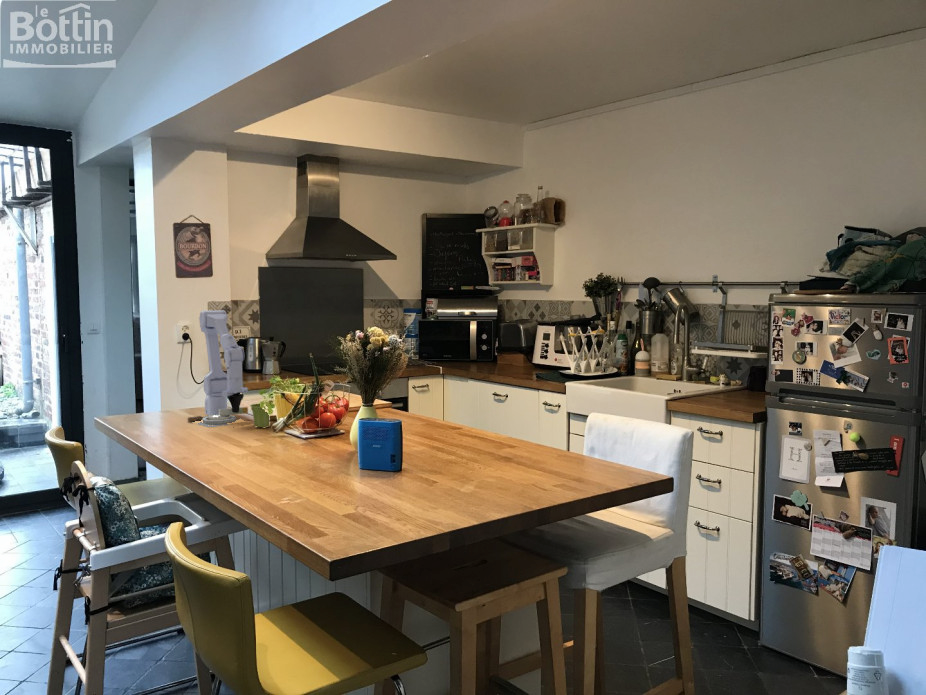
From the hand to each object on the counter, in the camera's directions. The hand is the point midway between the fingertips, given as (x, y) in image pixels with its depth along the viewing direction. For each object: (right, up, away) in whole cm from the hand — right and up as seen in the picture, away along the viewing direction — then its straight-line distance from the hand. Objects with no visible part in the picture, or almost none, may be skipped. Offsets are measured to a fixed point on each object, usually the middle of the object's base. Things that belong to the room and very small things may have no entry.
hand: (235, 412), depth 294 cm
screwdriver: (-13, -3, +1) cm, 14 cm away
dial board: (-6, -4, -1) cm, 8 cm away
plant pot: (+13, -5, -9) cm, 17 cm away
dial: (-3, -3, +1) cm, 4 cm away
